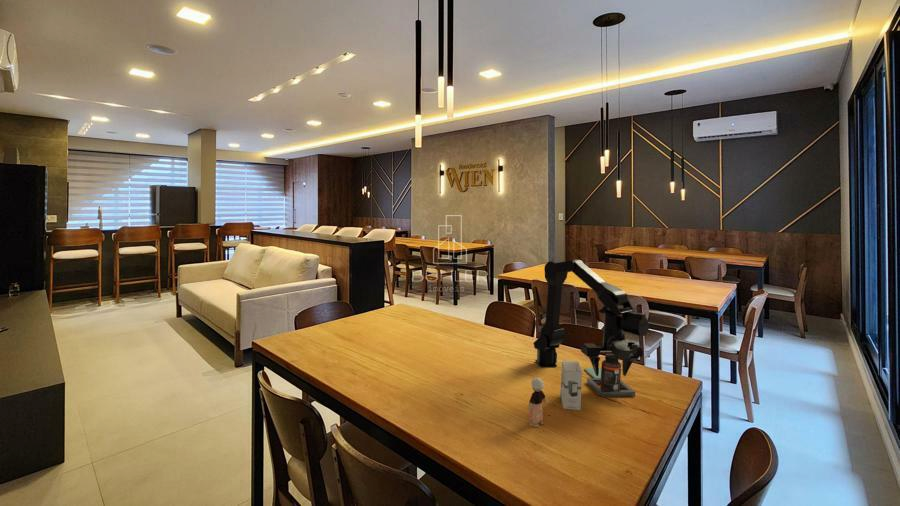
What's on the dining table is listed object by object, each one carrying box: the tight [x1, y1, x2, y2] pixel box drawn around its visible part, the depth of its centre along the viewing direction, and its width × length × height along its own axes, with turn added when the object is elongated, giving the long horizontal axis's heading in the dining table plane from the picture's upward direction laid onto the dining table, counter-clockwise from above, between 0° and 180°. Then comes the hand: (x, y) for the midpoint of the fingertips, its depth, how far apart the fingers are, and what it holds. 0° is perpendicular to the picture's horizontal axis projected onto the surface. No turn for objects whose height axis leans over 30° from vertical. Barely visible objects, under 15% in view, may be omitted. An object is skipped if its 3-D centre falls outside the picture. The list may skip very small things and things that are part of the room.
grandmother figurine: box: [527, 377, 547, 428], centre depth 110 cm, size 8×4×13 cm, turn 145°
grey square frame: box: [586, 377, 636, 398], centre depth 134 cm, size 11×11×2 cm
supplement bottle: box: [599, 353, 622, 390], centre depth 134 cm, size 6×6×11 cm
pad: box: [584, 367, 601, 378], centre depth 147 cm, size 9×9×1 cm
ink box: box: [559, 360, 583, 411], centre depth 123 cm, size 9×5×12 cm, turn 172°
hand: (610, 375), depth 134 cm, fingers open, 9 cm apart
